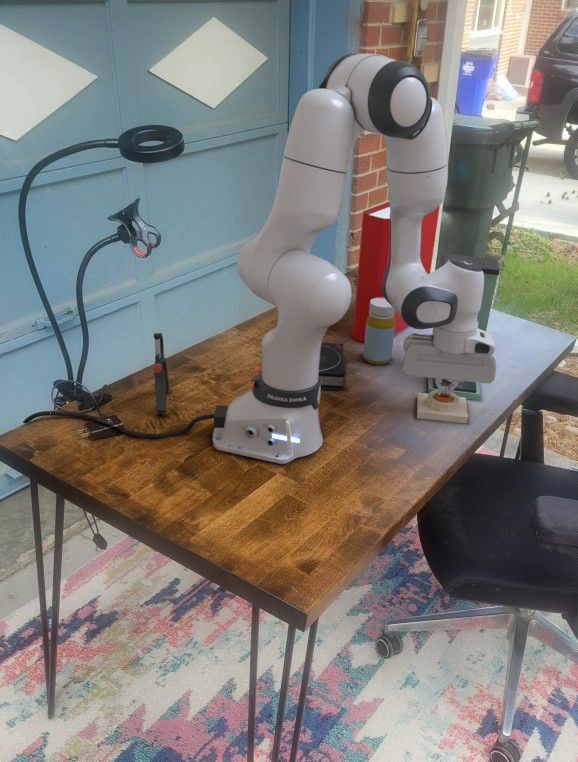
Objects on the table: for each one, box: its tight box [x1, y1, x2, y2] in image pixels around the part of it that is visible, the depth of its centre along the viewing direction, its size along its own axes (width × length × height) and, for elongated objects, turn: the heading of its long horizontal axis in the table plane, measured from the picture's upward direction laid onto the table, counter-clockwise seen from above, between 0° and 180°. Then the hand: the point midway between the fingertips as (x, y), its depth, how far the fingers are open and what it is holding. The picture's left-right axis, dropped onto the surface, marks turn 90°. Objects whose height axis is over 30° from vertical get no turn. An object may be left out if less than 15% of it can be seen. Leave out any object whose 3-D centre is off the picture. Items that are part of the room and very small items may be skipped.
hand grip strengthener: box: [152, 332, 170, 416], centre depth 153 cm, size 2×12×15 cm, turn 9°
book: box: [352, 201, 441, 343], centre depth 191 cm, size 27×8×32 cm, turn 147°
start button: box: [434, 392, 453, 403], centre depth 162 cm, size 4×4×2 cm
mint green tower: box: [427, 253, 501, 401], centre depth 169 cm, size 13×18×27 cm
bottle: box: [362, 298, 395, 366], centre depth 178 cm, size 7×7×15 cm
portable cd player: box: [319, 342, 345, 391], centre depth 173 cm, size 16×17×4 cm
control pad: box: [416, 390, 469, 424], centre depth 163 cm, size 11×9×4 cm
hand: (444, 395), depth 162 cm, fingers closed, pressing on start button
